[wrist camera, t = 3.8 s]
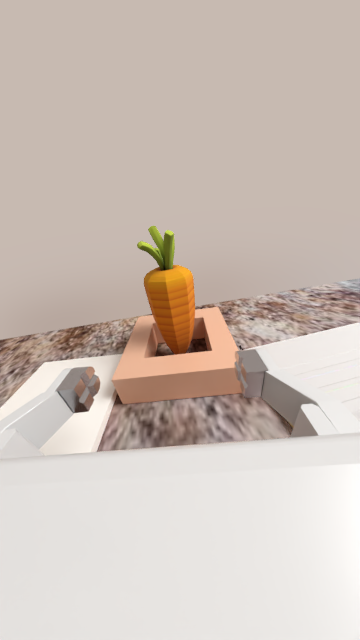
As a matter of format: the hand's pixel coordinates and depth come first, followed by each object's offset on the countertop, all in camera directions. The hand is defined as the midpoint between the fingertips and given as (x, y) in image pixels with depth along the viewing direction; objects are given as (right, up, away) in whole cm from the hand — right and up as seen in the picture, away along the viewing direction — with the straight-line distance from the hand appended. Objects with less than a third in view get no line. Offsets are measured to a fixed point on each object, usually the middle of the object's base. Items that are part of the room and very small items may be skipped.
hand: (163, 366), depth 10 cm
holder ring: (+1, -2, +12) cm, 12 cm away
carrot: (+1, -2, +12) cm, 12 cm away
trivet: (-12, -6, +9) cm, 16 cm away
